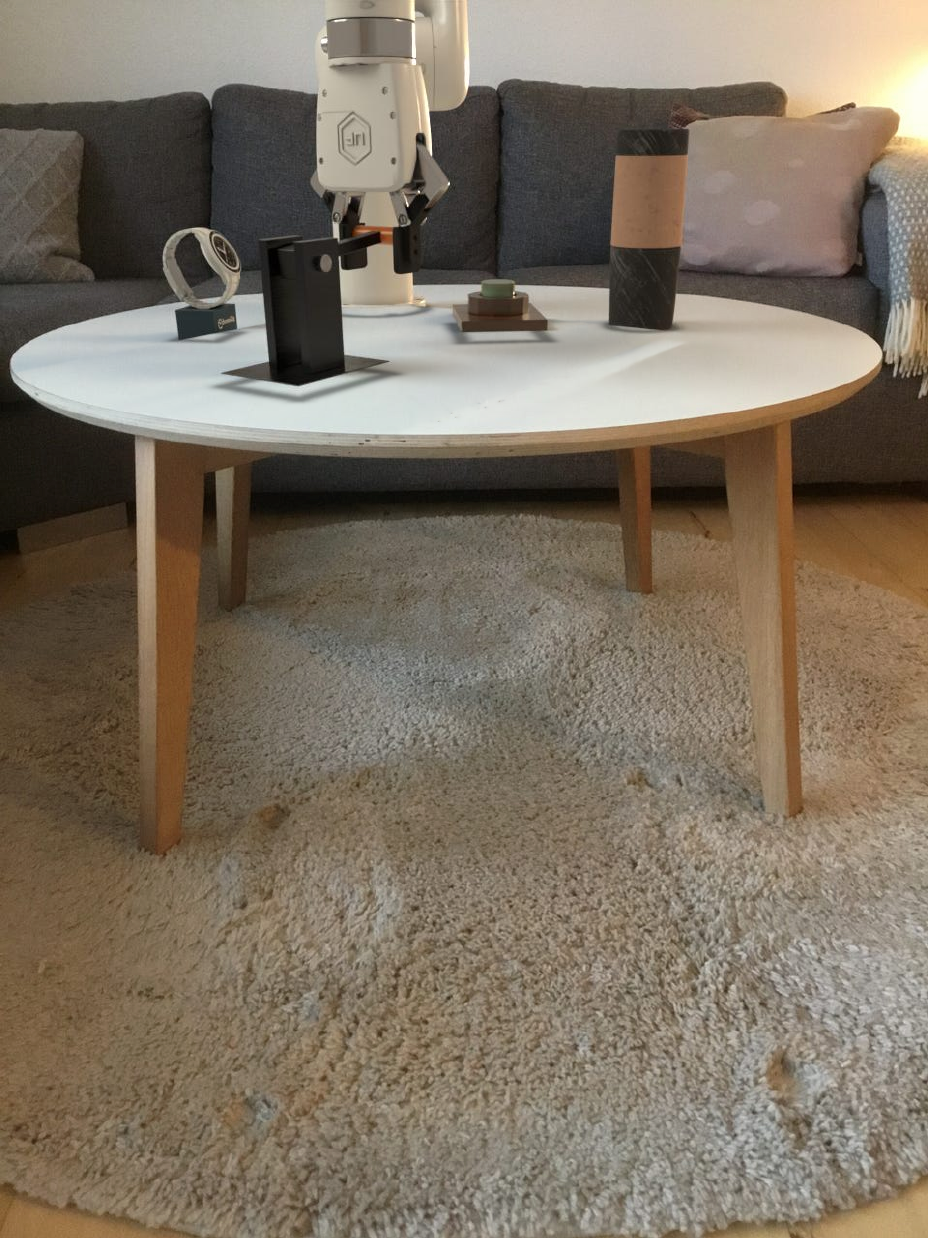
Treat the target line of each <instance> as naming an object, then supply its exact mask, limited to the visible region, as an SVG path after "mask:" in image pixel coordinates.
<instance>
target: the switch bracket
mask: <svg viewBox="0 0 928 1238" xmlns="http://www.w3.org/2000/svg"><path fill="white" fill-rule="evenodd" d="M257 241H258V242H257V243H258V255H259V264H260V265H259V266H260V276H261V288H262V299H263V301H262V302H263V311H264V322H265V334H266V344H267V345H266V346H267V357H268V361H265V362H261V363H257V364H253V365H249V366H244V367H239V368H236V369H235V368H234V369H230V370H226V371H223V372H221V373H220V374H222V375H226V376H227V375H228V376H234V377H238V378H239V377H240V378H246V379H249V380H250V379H251V380H256V381H257V380H258V381H264V382H268V383H274V384H275V383H276V384H280V385H288V386H294V387H300V386H304V385H308V384H312V383H315V382H320V381H323V380H326V379H330V378H334V377H338V376H342V375H346V374H349V373H353V372H356V371H360V370H363V369H367V368H371V367H375V366H379V365H382V364H386V363H389V362H390V360H386V359H381V358H372V357H365V356H358V355H351V354H345V343H344V325H343V308H342V304H341V287H340V269H339V251H338V238H333V237H321V238H315V239H314V238H313V239H306V240H305V239H304V238H303V236H302V235H286V236H277V237H275V236H274V237H266V238H260V239H258V240H257ZM290 245H293V246H294V260H295V273H296V280H292V279H282V278H281V272H280V266H279V260H278V253H277V249H280V248H283V247H287V246H290Z"/></svg>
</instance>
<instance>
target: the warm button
mask: <svg viewBox="0 0 928 1238" xmlns="http://www.w3.org/2000/svg"><path fill="white" fill-rule="evenodd" d="M480 284H481V287H480V288H481V290H480V291H481V296H484V297H512V296H515V291H516V281H515V280H512V279H504V278H503V279H501V278H498V279H496V278H495V279H484V280H482V281H481V282H480Z"/></svg>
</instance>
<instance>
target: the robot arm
mask: <svg viewBox="0 0 928 1238" xmlns="http://www.w3.org/2000/svg"><path fill="white" fill-rule="evenodd" d="M467 1H468V0H324V4H325V5H324V8H325V22H326V23H325V25H324V26H323V27H321V29H320V30H319V32H318V34H317V36H316V38H315V44H314V62H315V70H316V76H317V82H318V90H317V91H318V92H317V103H316V104H317V105H316V168H315V170H314V172H313V174H312V176H311V177H310V181H309V183H310V185H311V188H312V189H313V190H314V191H315V193H316V194H317V195H318V196H319V197H320V199H322V203H323V205H325V207H326V209H327V210H328V211H329V213H330V214H331V220H332V238H338V241H341V240H344V239H347V238H350V237H353V229H354V227H355V226H357V225H363V226H382V227H393V231H392V235H393V245H380V244H376V245H373V246H370V247H367V248H364V249H361V250H358V251H355V252H352V253H348V254H345V255H342V256H339V269H340V287H341V304H342V309H345V308H346V309H347V308H393V307H403V306H414V307H415V306H416V307H427V305H426V303H427V302H426V301H427V300H426V297H424V296H422V295H419V294H415V293H414V282H413V273H419V272H420V270H421V260H422V245H421V244H422V243H421V226H424V225H425V224H426V223H427V217H428V216H429V215H430V213H431V211H432V210H433V209H434V208H435V206H436V203H437V201H439V200H440V199H441V197H442V196H443V195H444V194H445V193H446V192H447V190H448V189H449V188H450V180H449V179H448V178H447V176H446V175H445V173H444V172H443V171H442V170H443V169H441V167H440V166H439V164H438V163H437V161H436V160H435V159H434V157H433V150H432V132H431V122H430V121H431V119H430V112H445V111H451V110H454V109H456V108H458V107H459V106H461V105H462V103H463V102H464V101H465V99H466V96H467V94H468V90H469V85H470V84H469V83H470V45H469V44H470V43H469V25H468V21H469V20H468V2H467ZM416 12H417V13H420V14H421V15H423V16H416ZM420 190H421V192H420Z"/></svg>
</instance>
